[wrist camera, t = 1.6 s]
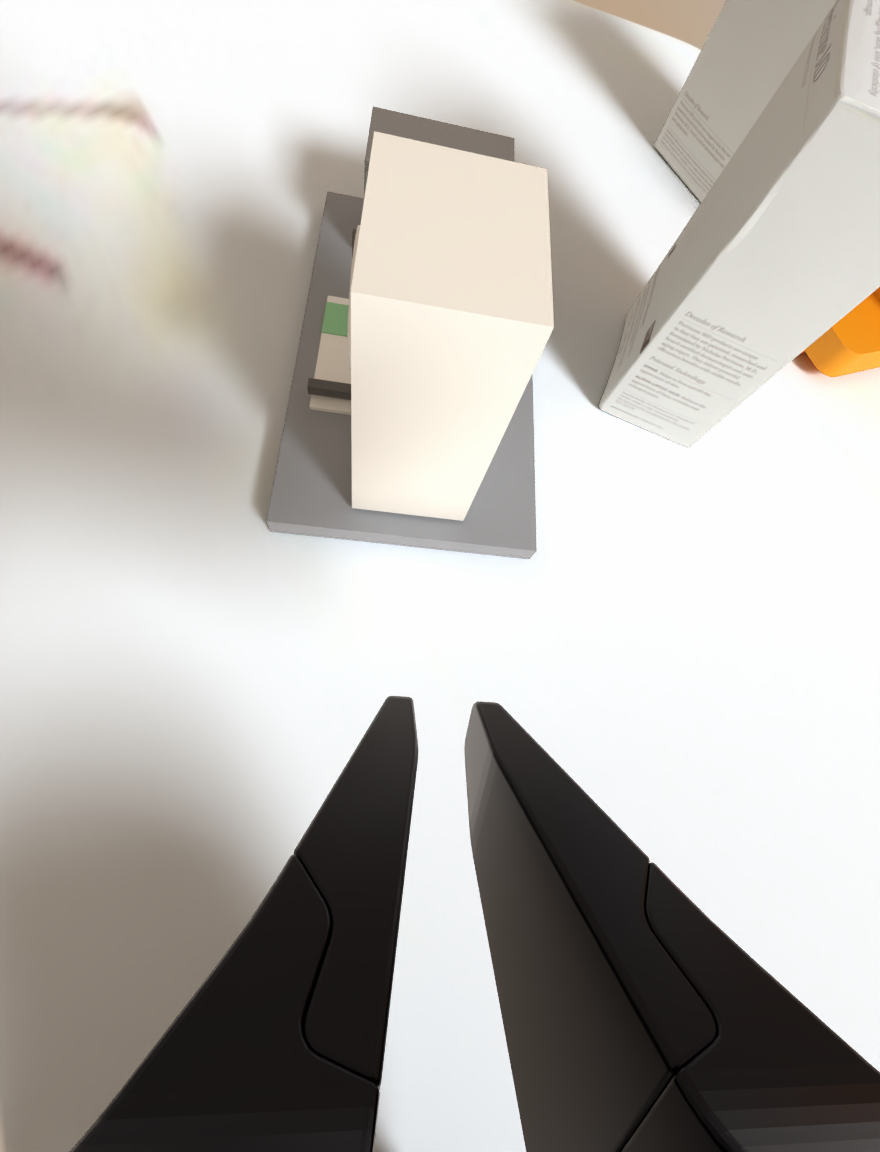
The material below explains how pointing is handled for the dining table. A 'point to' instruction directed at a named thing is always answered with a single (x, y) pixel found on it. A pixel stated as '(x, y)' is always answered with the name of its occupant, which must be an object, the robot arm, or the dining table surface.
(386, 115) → the dark gray block
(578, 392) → the dining table surface
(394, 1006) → the dining table surface
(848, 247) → the skincare box
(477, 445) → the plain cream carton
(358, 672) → the dining table surface
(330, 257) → the gray flat rectangular panel
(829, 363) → the bracket
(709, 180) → the supplement box
